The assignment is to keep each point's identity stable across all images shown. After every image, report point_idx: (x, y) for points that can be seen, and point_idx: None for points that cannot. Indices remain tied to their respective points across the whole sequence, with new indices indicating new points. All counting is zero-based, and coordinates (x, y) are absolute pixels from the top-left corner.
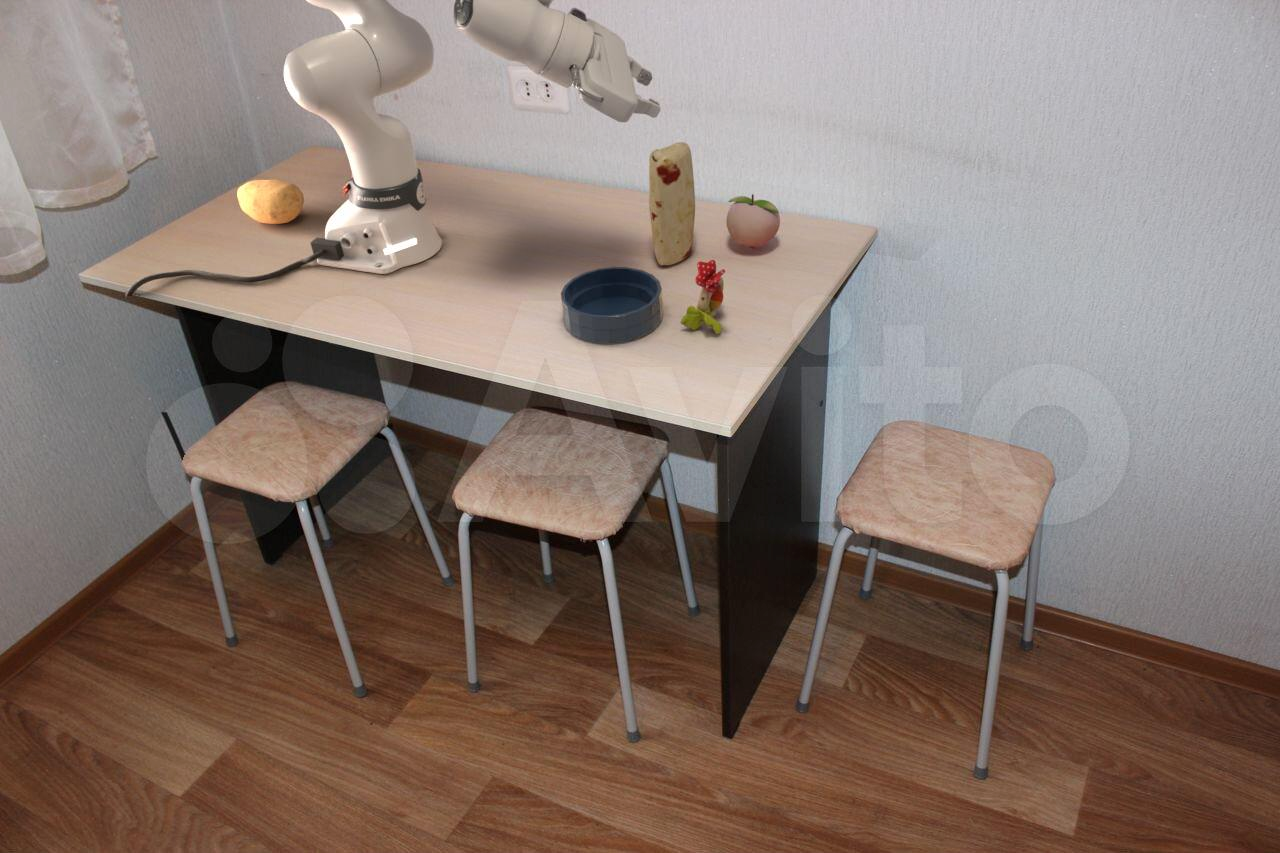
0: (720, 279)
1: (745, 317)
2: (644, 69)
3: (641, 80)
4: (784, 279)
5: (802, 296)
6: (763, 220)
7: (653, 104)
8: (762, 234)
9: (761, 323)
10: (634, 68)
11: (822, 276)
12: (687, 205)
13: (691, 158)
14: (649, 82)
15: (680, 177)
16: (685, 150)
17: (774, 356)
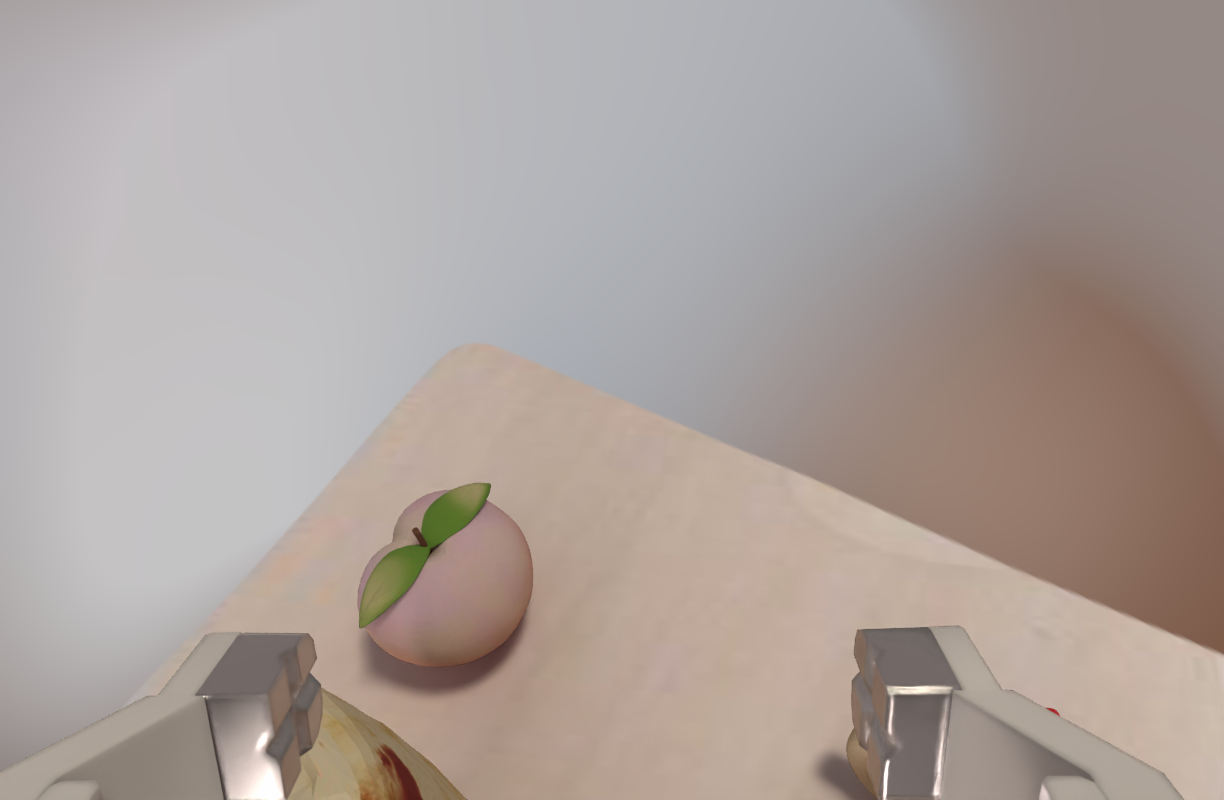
0: (1051, 708)
1: None
2: (206, 678)
3: (290, 752)
4: (686, 554)
5: (791, 519)
6: (512, 534)
7: (988, 670)
8: (531, 560)
9: None
10: (142, 787)
11: (688, 461)
12: (435, 772)
13: None
14: (314, 683)
15: (400, 756)
16: None
17: (1148, 632)
